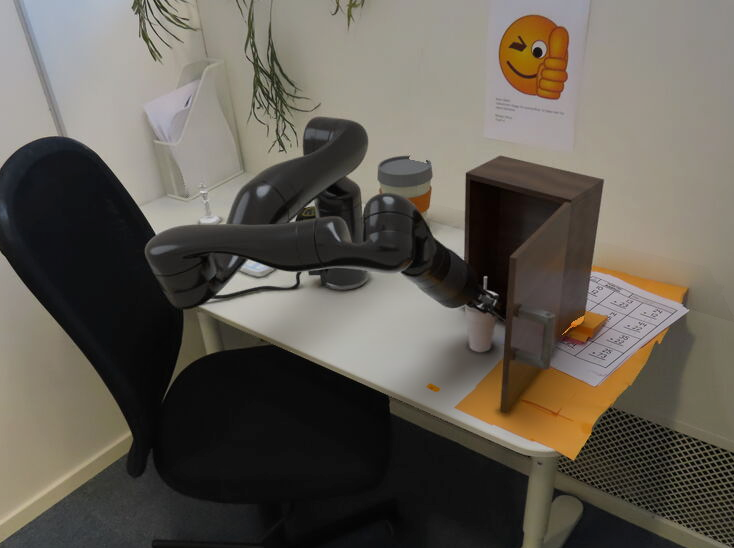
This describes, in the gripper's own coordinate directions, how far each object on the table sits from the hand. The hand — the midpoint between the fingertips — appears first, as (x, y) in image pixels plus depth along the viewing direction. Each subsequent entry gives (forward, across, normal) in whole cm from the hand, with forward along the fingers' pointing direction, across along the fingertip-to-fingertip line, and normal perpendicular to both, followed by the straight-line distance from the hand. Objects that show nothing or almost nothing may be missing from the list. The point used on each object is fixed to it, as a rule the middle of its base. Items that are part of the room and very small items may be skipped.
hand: (487, 309), depth 118 cm
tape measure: (+15, -63, +5) cm, 65 cm away
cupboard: (+13, 0, +3) cm, 13 cm away
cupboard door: (+2, +14, -7) cm, 16 cm away
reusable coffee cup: (+24, -43, +15) cm, 52 cm away
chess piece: (+5, -85, -4) cm, 85 cm away
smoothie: (+4, 0, -6) cm, 7 cm away
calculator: (+1, -62, -8) cm, 62 cm away
